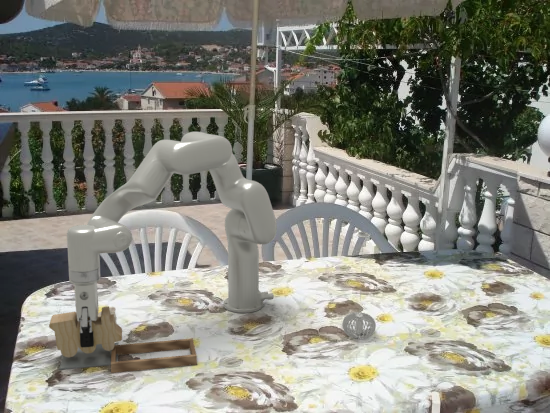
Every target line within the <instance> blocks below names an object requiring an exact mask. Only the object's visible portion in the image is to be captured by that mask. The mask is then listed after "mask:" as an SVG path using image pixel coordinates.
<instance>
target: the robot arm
mask: <svg viewBox="0 0 550 413" xmlns="http://www.w3.org/2000/svg"><path fill="white" fill-rule="evenodd" d="M180 139H181V140H180V141H179V140H173V139H161V140H158V141H157V142H155V143H154V145H152V147H151V148H150V150H149V151H148V153H147V154H146V156H145V157H144V158H143V160H142V161H141V162H140V164H139V166H138V167H137V168H136V170H135V171H134V173H133V174H132V176H131V177H130V178H129V179H128V181H127V182H126V183H125V184H123V185H121V186H120V187H118V188H117V189H116V190H114V191H113V192H111V193H110V194H109V195H108V196H107V197H106V198H105V199H104V200H103V201H102V202H101V203H100V204H99V205H98V207H97V208H96V209H95V211H94V212H93V214H92V215H91V216H90V218H89V219H88V222H87V223H86V224H79V225H73V226H72V227H69V228H68V230H67V231H66V244H67V260H68V263H67V265H68V277H69V278H68V279H69V283H70V284H72V285H74V300H75V312H76V315H77V321H78V322H80V346H81V347H93V346H94V338H93V331H92V321H96V320H97V319H98V313H99V308H100V306H99V293H98V292H99V291H98V282H100V281H101V262H100V261H101V260H100V254H115V253H120V252H124V251H125V250H127V249H128V248H129V247H131V245H132V241H133V234H132V232H131V230H130V228H129V227H127V226H126V225H124V224H122V223H121V222H120V221H121V219H122V218H123V217H124V216H125V215H126V214H127V213H128V212H130V211H131V210H132V209H135V208H137V207H141V206H143V205H147V204H150V203H151V202H154V201H156V200H157V199H158V197H159V195H160V194H161V192H162V191H163V189H164V187H166V185H167V183H168V182H169V180H170V179H171V178H172V176H173V175H174V174H178V175H181V176H182V175H185V176H186V175H194V174H197V173H203V172H207V171H208V172H209V173H210V175H211V178H212V180H213V183H214V186H215V189H216V192H217V194H218V197H219V200H220V202H221V204H222V205H223V206H225V207H227V208H229V209H230V210H229V211H228V212H227V214H226V216H225V219H224V230H225V235H226V241H227V261H228V262H227V264H228V265H227V266H228V267H227V276H228V277H227V283H228V285H227V287H228V291H227V292H228V294H227V295H228V296H227V298H225V299H224V301H223V307H224V308H225V310H227V311H230V312H233V313H239V314H241V313H242V314H246V313H254V312H256V311H257V312H258V311H259V310H261V309H262V308H263V307H264V301H265V300H268V301H269V300H275V298H274V296H275V294H274V293H273V292H272V293H269V291H260V289H259V287H260V286H259V282H260V278H259V277H260V276H259V275H260V253H259V252H260V251H259V245H261V246H262V245H269V244H270V243H271V242H273V241H274V239H275V238H276V236H277V231H278V225H277V224H278V223H277V219H276V215H275V212H274V210H273V206H272V203H271V200H270V196H269V193H268V192H267V190H266V188H265V186H263V184H262V183H259V182H258V181H256V180H251V179H247V178H245V176H244V174H243V173H242V170H241V168H240V165H239V162H238V160H237V159H236V158H237V157H236V156H235V155H234V153H233V146H232V144H231V142H230V141H229V140H228V139H227V138H226V137H225V136H222V135H217V134H210V133H206V132H201V131H190V132H188V133H185V134H184V135H183V136H182V138H180ZM119 222H120V223H119ZM88 318H90V320H88ZM88 323H89V325H88Z"/></svg>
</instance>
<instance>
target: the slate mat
mask: <svg viewBox="0 0 550 413" xmlns="http://www.w3.org/2000/svg"><path fill="white" fill-rule="evenodd" d="M119 342H120V341H117V342H115V344H114V345H120V344H119ZM111 354H112V350H110V351H107V350H104V348H103V347H102V344H97V345H96V349H95V350H94V352H92V353H84V352H83V351H81V349H80V348H79V347H78V350H77V353H76V354H75V355H74V356H73V357H65V356H63V355H61V361H60V366H59V371H62V370H71V369H82V368H83V369H84V368H94V367H95V368H96V367H102V366H103V367H104V366H111ZM118 361H119V355H118V354H116V362H118Z"/></svg>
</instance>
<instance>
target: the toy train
mask: <svg viewBox="0 0 550 413" xmlns="http://www.w3.org/2000/svg"><path fill="white" fill-rule="evenodd" d="M109 308H110V306H103V307H102V308H101V311H102V312H101V311H100V312H101V317H98V319H97V320H96V321H92V331H93V338H94V346H93V347H81V346H80V322H78V321H77V315H76V311H70V312H63V313H57V314H52V315H51V318H50V322H49V324H48V328H49V329H51V330H52V332H53V331H54V336H55V338H54V339H55V344H56V349H57V350H58V351H60V353H61V356H65V357H73V356H74V355H75V354H76V353H77V350H78V347H79V348H80V349H81V351H83V352H84V353H92V352H94V350H95V349H96V345H97V344H102V347H103V348H104V350H107V351H110V350H113V348H114V344H115V343H118V342H121V341H122V340H123V328H122V327H121V326H120V325H119V324H118V323H117V322H116V323H117V324H116V323H115V318H114V314H110V309H109ZM88 320H90V318H88ZM88 325H89V323H88Z"/></svg>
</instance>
